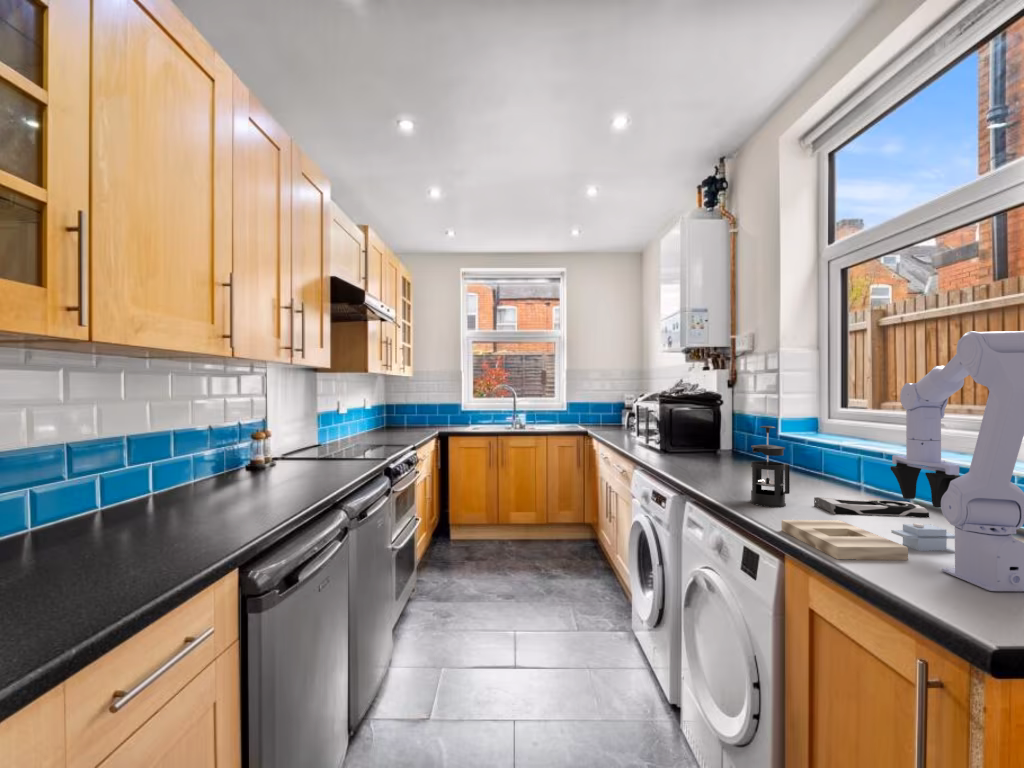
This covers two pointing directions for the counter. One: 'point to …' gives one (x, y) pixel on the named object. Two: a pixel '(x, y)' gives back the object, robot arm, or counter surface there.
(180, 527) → the counter surface
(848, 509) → the graphics card
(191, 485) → the counter surface
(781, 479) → the french press
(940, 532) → the block
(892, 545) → the board
